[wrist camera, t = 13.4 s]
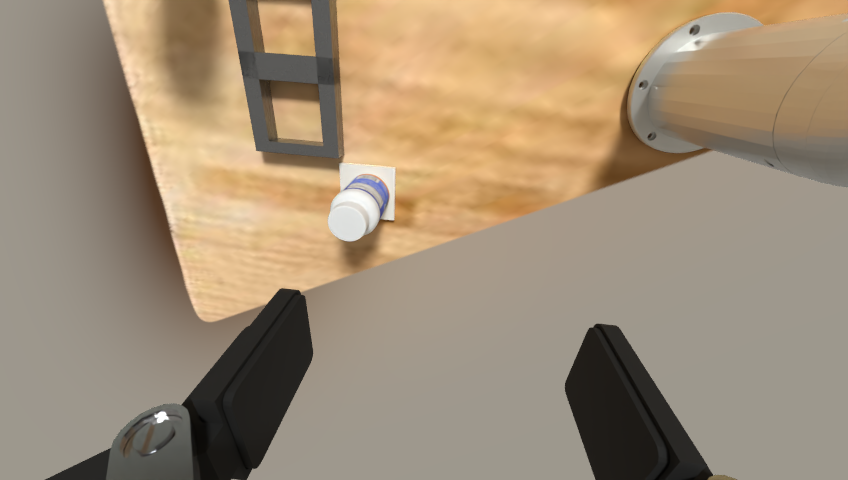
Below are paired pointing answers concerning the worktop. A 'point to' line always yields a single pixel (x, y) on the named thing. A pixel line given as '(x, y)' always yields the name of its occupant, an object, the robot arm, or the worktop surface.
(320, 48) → the grey double square frame
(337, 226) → the pill bottle
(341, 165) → the tile
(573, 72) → the worktop surface
